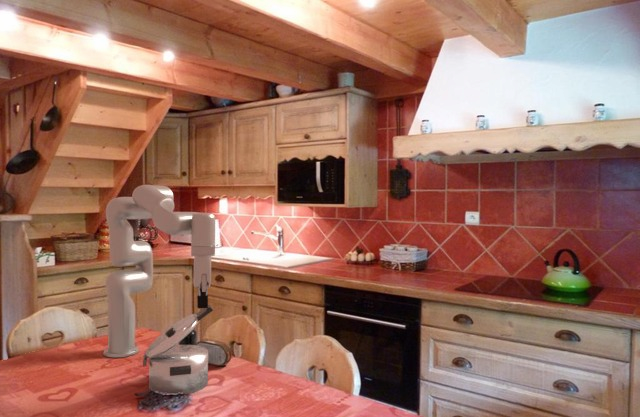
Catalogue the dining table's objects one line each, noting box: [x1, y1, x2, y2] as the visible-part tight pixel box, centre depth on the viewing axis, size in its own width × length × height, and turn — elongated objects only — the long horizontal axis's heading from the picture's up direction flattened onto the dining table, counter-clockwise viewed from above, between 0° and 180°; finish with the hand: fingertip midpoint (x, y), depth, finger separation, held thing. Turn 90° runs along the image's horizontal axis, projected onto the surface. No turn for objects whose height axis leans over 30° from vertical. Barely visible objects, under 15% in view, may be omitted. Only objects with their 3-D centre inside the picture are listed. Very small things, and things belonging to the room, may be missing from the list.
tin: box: [196, 338, 232, 367], centre depth 168 cm, size 15×3×8 cm, turn 64°
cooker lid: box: [144, 303, 214, 360], centre depth 148 cm, size 19×25×3 cm
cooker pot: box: [142, 344, 209, 395], centre depth 148 cm, size 24×20×10 cm
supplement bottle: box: [177, 328, 198, 345], centre depth 176 cm, size 7×7×12 cm
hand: (202, 307), depth 151 cm, fingers closed
